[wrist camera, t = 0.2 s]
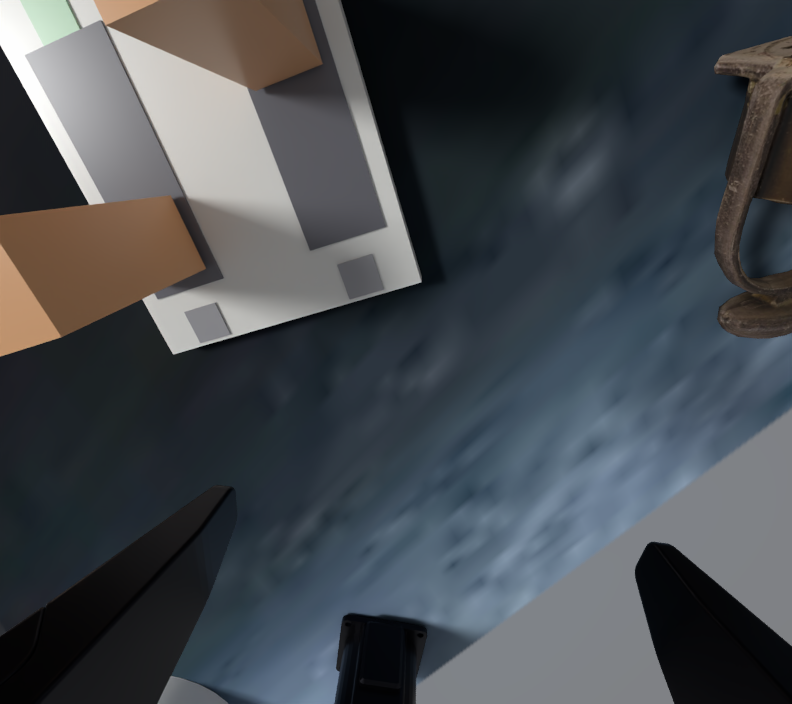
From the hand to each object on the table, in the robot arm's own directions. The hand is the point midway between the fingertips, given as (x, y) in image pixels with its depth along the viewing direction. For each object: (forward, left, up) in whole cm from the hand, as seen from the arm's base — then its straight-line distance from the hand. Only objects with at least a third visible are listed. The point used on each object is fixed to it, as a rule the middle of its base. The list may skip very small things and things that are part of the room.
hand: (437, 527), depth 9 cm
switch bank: (+6, +10, -15) cm, 19 cm away
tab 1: (+2, +13, -13) cm, 19 cm away
